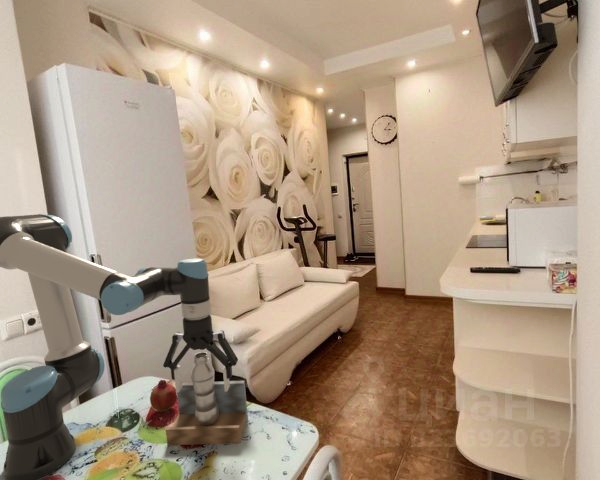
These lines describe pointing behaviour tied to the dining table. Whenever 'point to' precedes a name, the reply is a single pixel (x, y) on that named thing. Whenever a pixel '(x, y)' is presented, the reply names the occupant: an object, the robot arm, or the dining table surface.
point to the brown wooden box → (226, 425)
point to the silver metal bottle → (204, 390)
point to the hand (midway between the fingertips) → (203, 389)
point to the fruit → (163, 396)
